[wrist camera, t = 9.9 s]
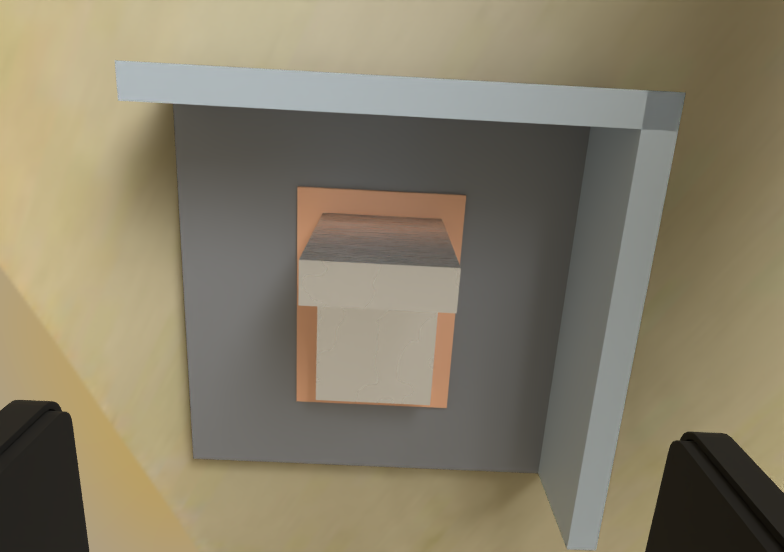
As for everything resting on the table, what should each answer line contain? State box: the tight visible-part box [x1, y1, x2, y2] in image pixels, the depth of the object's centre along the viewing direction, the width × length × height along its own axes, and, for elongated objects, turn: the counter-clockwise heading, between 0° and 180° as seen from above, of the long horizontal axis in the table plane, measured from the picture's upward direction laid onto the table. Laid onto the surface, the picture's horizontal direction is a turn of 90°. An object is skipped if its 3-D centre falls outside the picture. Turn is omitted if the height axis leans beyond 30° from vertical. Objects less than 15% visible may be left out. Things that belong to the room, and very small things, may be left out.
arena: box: [115, 60, 686, 550], centre depth 24 cm, size 18×18×6 cm
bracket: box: [298, 213, 461, 405], centre depth 23 cm, size 8×5×7 cm, turn 177°
